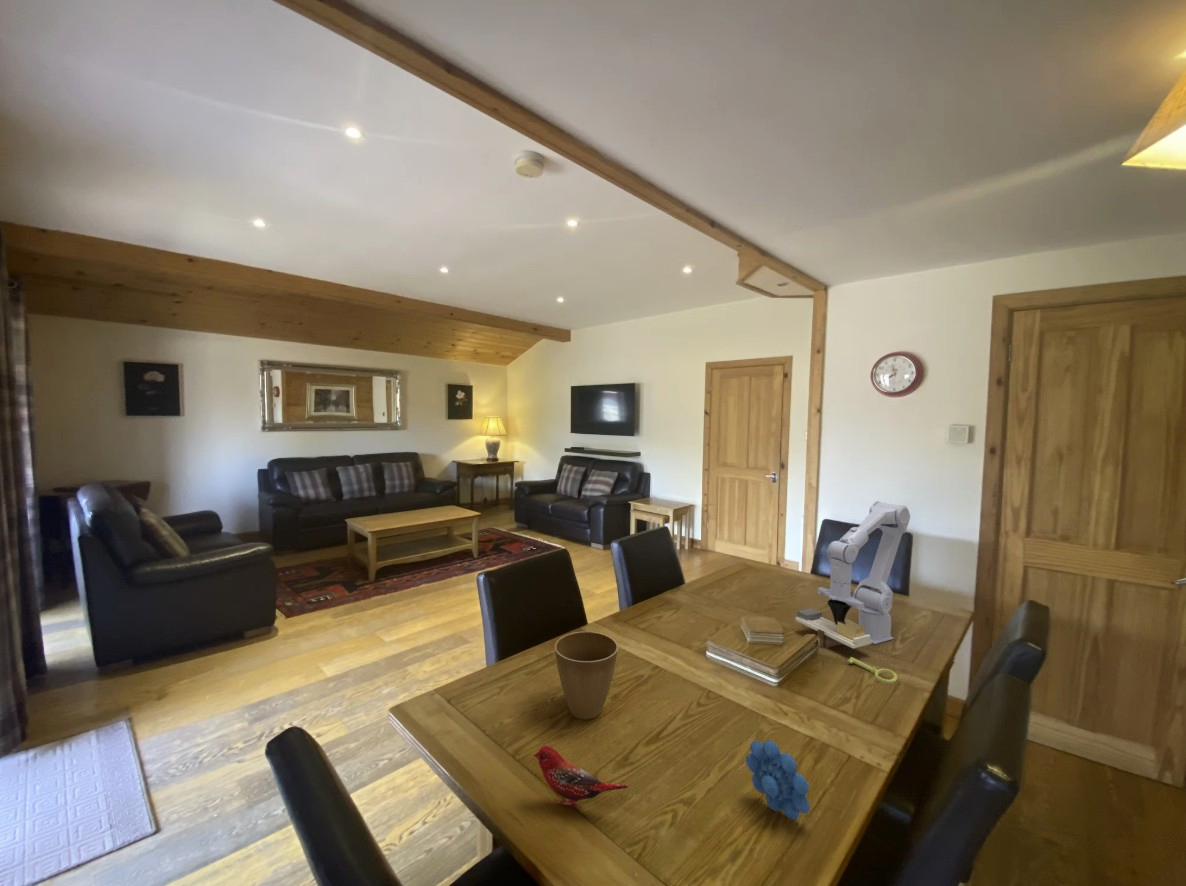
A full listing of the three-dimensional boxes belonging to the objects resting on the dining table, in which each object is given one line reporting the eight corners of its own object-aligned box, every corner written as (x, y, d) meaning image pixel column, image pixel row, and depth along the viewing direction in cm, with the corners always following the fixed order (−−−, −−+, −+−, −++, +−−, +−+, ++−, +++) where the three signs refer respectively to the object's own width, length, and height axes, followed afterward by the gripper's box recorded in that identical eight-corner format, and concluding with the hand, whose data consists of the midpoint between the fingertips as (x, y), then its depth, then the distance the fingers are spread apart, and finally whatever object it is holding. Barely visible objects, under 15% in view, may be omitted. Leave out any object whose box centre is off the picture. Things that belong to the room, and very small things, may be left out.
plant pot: (545, 700, 120) (546, 637, 119) (601, 688, 125) (602, 627, 125) (566, 737, 106) (567, 665, 105) (627, 721, 112) (628, 653, 111)
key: (848, 662, 142) (848, 655, 142) (898, 676, 134) (898, 669, 134) (844, 672, 136) (844, 665, 136) (896, 688, 129) (896, 680, 129)
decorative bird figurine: (536, 791, 91) (536, 738, 90) (629, 814, 85) (630, 759, 85) (529, 802, 88) (530, 748, 87) (625, 827, 83) (626, 770, 82)
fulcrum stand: (815, 644, 152) (815, 628, 152) (838, 638, 156) (838, 623, 156) (823, 648, 149) (824, 632, 149) (846, 642, 154) (847, 626, 153)
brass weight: (836, 634, 148) (837, 621, 148) (846, 631, 150) (847, 619, 150) (854, 642, 143) (855, 629, 143) (864, 640, 145) (865, 626, 144)
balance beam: (795, 620, 160) (795, 611, 160) (812, 616, 164) (813, 607, 164) (853, 648, 141) (853, 638, 141) (871, 643, 145) (872, 633, 145)
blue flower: (733, 804, 88) (735, 740, 87) (751, 785, 93) (753, 724, 92) (797, 845, 80) (800, 774, 79) (814, 822, 84) (816, 755, 84)
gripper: (811, 575, 154) (810, 617, 155) (853, 590, 141) (851, 636, 142) (827, 572, 157) (825, 614, 158) (869, 587, 144) (867, 632, 145)
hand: (838, 624), depth 150 cm, fingers closed
